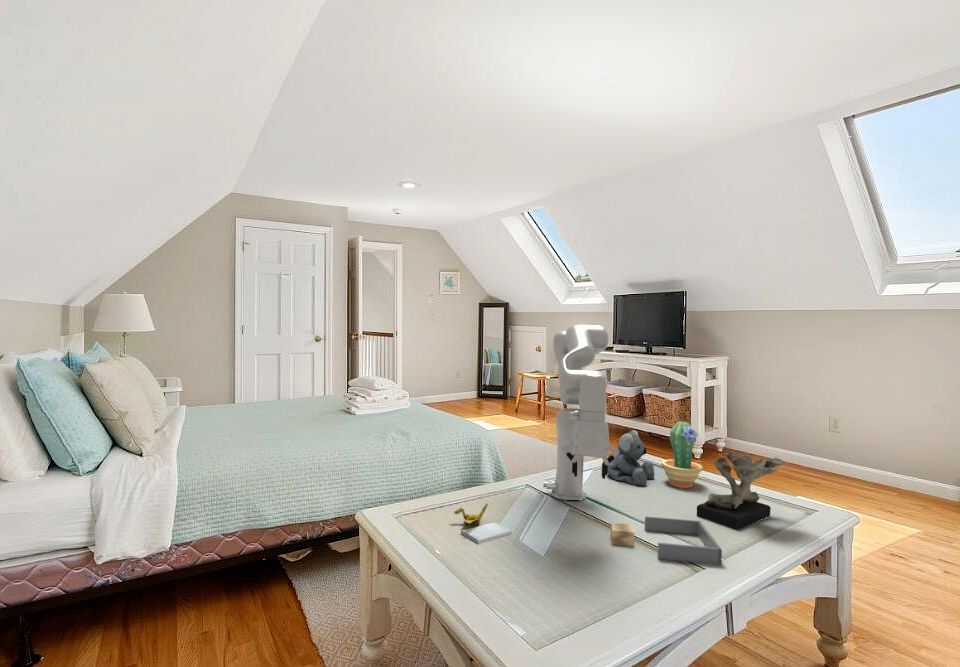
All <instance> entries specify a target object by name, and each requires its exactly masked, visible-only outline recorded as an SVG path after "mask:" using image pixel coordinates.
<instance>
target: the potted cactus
mask: <svg viewBox="0 0 960 667" xmlns="http://www.w3.org/2000/svg"><path fill="white" fill-rule="evenodd" d="M669 434H670V435H669V437H670V444H671V447H672V452H673V459H671V458H670V459H664V460H662V461H661V462H660V463H661V467H662V468H663V469H664V473H665V476H666V477H667V479H668V480H669V481H668V484H669V485H671V486H672V487H673V486H674V487H677V488H681V489H682V488H683V489H690V488H689V487H691V488H693V487H694V482H695V481H696V480H697V479H698V477H699V474H700V473H701V472H702V471H703V468H704V467H703V465H701V464H700V463H697V462H694V461H692V459H693V458H692V454H693V448H694V446H695V444H696V442H697V437H698V433H697V432H696V430H695V429H694V428H693V427H692V426H691V424H690V423H689V422H687V421H677V422H676V423H675V425H673V427H672V428H671V430H670V432H669ZM692 486H693V487H692Z"/></svg>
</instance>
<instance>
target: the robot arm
mask: <svg viewBox="0 0 960 667" xmlns="http://www.w3.org/2000/svg"><path fill="white" fill-rule="evenodd" d="M552 340H553V342H552V346H553V352H554V355H555V359H556V362H557V364H558V368H557V377H558V383H559V384H558V385H559V399H560V401H561V403H563V405H568V406H578V408H575V407H574V408H572V407H571V408H570V407H567V408H561V409H560V410H558V411H557V412H556V415H555V427H556V436H557V438H556V440H557V445H556V446H557V447H556V448H557V449H556V468H555V469H556V474H555V475H556V476H555V480H554V481H552V482H549V481H544V482H543V483H542V484H543V488H546V490H551V492H550V494H551V496H553V497H554V498H556V499H558V498H559V500H561V499H564V500H563V501H566V500H580V499H584V500H585V499H587V496H588V495H587V494H588V493H586V491H585V490H583V485H584V483H583V481H584V457H591V458H593V457H594V458H601V460H602V463H601V478H602V479H603V480H606V476H608V465H609V463H610V462H612V461H613V460H614V458H615V457H616V456H617V455H618V454H619V450H618V448H617V447H616V446H614V445H613V444H611V442H610V431H609V423H608V421H607V420H606V402H607V401H606V399H607V387H608V379H607V376H606V375H605V373H604V372H602V371H599V370H587V369H586V370H583V368H586V367H587V366H589V365H591V364H592V363H593V362H594V360H595V357H596V355H599V354H600V353H602V352H604V351H605V350H606V349H607V347H608V344H609V332H608V331H607V329H606V328H605V327H604V326H603V325H597V324H593V325H592V324H573V325H571V326H570V327H568V328H567V329H566V330H561V331H558V332H556V333H555V334H554V336H553V339H552ZM610 450H611V451H612V453H611V454H610V453H609V452H610ZM580 501H581V500H580Z"/></svg>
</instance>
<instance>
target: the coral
mask: <svg viewBox="0 0 960 667" xmlns="http://www.w3.org/2000/svg"><path fill="white" fill-rule="evenodd" d="M733 453H734V454H733ZM733 453H732V452H731V451H728V452H726V453H725V456H726V457H721V456H720V457H718V458H717V459H716V460H715V459H713V460H712V461H713V465H714V466H715V468H716V469H717V470H718V471H719V474H720V475H721V476H722V477H724V479H726V481H727V482H728V483H729V485H730V487H731V494H718V493H710V494H709V495H708V498H707V500H706V501H705V502H703V503H701V504H698V505H697V506H696V517H698V518H701V519H704V520H707V521H710V522H712V523H714V524H715V523H716V524H718V525H720V526H724V527H726V528H729V529H732V530H734V531H738V530H742V529H744V528H746V527H748V525H749V526H751V525H753V524H752V523H754V524H756V523H758V522H757V521H759V520H761V519H764V518H766V517H769V516H770V517H771V509H772V507H771V506H770V505H768V504H765V503H762V502H759V500H760V496H759V495H758V493H757V492H756V491H753V492H752V491H751V486H752V484H753V483H754V482H755V481H756V480H758V479H760V478H761V477H764V476H766V475H771V474H773V473H775V472H777V471H778V470H779V469H778V468H777V467H780V466H782V465H783V464H785V461H784V460H783V459H780V458H778V457H773V460H771V459H763V458H759V459H758V460H755V461H754V463H753V460H752V459H751V458H752V457H750V456H748V455H745V454H743V455H738V454H737V453H736V451H734V452H733ZM727 459H728V460H729V461H730V462H731V464H732V466H730V464H729V462H728V461H727ZM732 469H733V471H734V472H735V474H736V476H737V478H738V479H739V480H740V483H739V484H738V483H737V482H736V480H735V478H734V477H733V476H732V475H731V470H732ZM770 517H769V518H770ZM766 519H767V518H766ZM764 520H765V519H764ZM761 521H762V520H761ZM755 522H756V523H755ZM759 522H760V521H759ZM750 524H751V525H750Z"/></svg>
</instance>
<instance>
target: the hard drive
mask: <svg viewBox="0 0 960 667" xmlns="http://www.w3.org/2000/svg"><path fill="white" fill-rule="evenodd" d="M460 534H461V535H462V536H464V537H466V538H468V539H469V540H471V541H472V542H474V543H476V544H478V545H479V544H482V543H486V542H490V541H492V540H495V539H499V538H502V537H506V536H510V535H512V530H511V529H509V528H507V527H505V526H503V525H502V524H500V523H497V522H495V521H494V522H490V523H487V524H482V525H479V526H478V525H477V526H474V527H470V528H468V529H463V530H460Z"/></svg>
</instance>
